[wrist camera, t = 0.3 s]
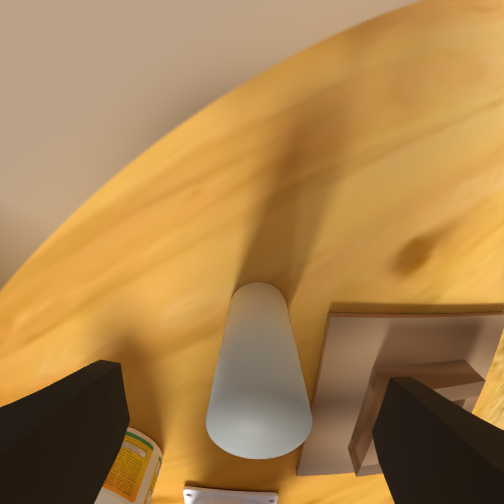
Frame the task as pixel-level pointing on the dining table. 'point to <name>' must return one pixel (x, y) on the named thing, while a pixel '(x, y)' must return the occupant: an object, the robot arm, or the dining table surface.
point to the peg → (258, 379)
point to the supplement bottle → (132, 471)
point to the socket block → (382, 369)
